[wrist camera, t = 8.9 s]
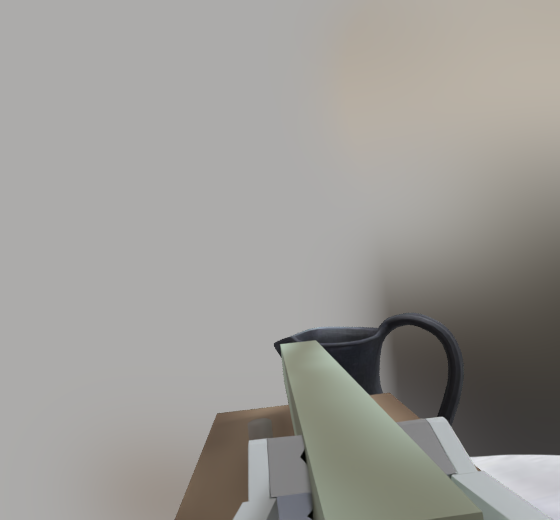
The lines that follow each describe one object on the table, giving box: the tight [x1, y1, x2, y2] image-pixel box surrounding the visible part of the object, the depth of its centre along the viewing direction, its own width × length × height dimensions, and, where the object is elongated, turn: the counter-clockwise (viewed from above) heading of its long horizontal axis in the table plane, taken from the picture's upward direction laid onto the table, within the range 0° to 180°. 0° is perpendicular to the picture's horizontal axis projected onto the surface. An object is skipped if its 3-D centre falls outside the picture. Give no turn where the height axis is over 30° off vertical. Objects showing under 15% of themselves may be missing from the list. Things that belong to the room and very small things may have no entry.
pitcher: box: [274, 313, 464, 426], centre depth 39 cm, size 17×21×30 cm
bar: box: [280, 340, 484, 520], centre depth 15 cm, size 2×19×2 cm, turn 2°
